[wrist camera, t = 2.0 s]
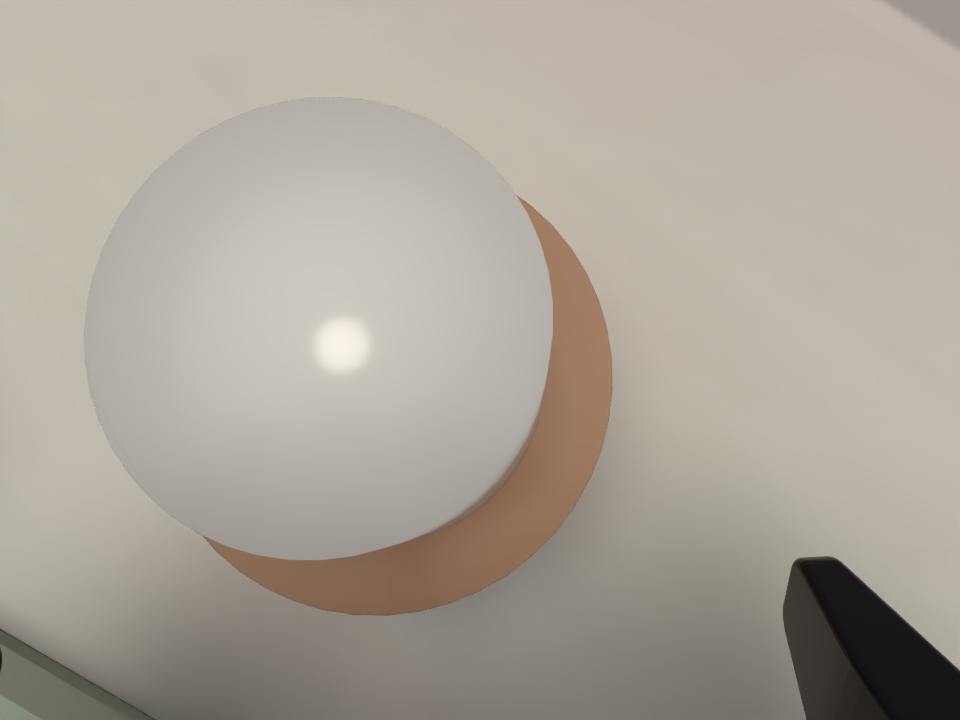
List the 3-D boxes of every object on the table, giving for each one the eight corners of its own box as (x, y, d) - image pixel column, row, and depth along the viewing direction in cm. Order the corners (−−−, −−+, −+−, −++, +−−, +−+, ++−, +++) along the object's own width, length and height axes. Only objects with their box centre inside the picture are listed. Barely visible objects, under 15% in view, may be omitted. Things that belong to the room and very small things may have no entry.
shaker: (503, 605, 18) (460, 801, 6) (289, 492, 19) (-132, 465, 7) (609, 385, 19) (759, 168, 7) (400, 284, 20) (199, -75, 8)
